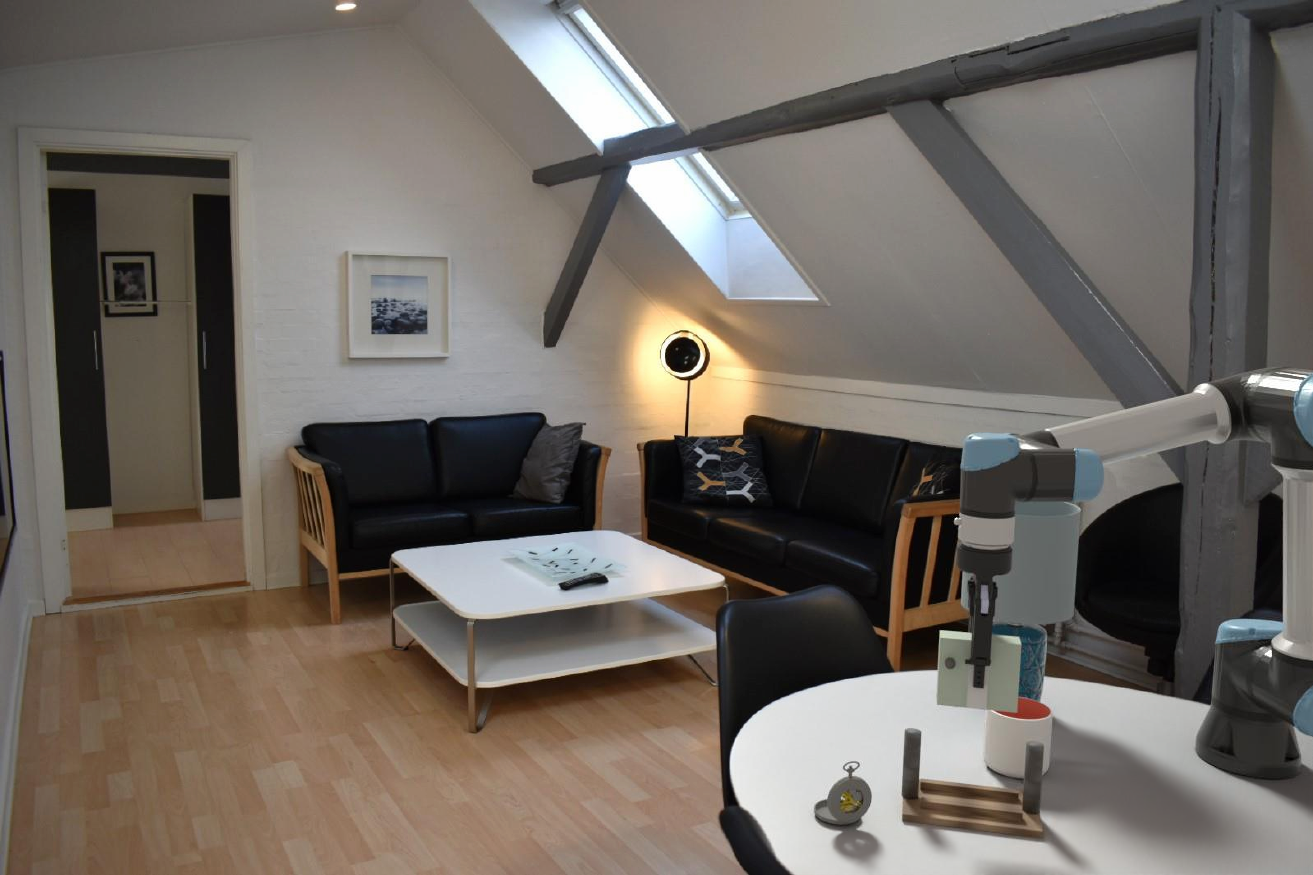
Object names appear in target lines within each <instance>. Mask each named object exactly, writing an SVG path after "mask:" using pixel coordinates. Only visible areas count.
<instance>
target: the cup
mask: <svg viewBox="0 0 1313 875" xmlns="http://www.w3.org/2000/svg"><path fill="white" fill-rule="evenodd" d="M1053 716H1054V713H1053V710H1052V708H1051V707H1049V706H1048V705H1046V704H1045V703H1043V702H1041V701H1040V702H1038V701H1035V700H1032V699H1028V698H1023V697H1018V707H1017V713H1014V712H1004V711H994V710H985V717H984V720H985V721H984V736H983V751H982V752H983V753H982V754H983V755H982V756H983V761H984V763H985V764H986V766H987V767H988V768H990V769H991V770H992V771H994V772H996V773H998V774H1000V775H1002V776H1006V777H1009V778H1015V779H1023V780H1024V771H1025V756H1026V743H1027V742H1028V741H1037V742H1040V743H1042V744H1043V745H1044V754H1043V769H1042V776H1043V775H1044V774H1046V773H1047V771H1048V770H1049V768H1050V760H1051V744H1052V730H1053Z"/></svg>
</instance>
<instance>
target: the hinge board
mask: <svg viewBox="0 0 1313 875" xmlns="http://www.w3.org/2000/svg"><path fill="white" fill-rule="evenodd" d="M903 736H904V738H903V739H904V740H903V756H902V757H903V758H902V776H901V777H902V780H901V782H902V783H901V796H902V807H901V809H902V815H901V816H902V817H901V821H902V822H909V823H910V822H911V823H917V824H918V823H919V824H928V825H934V826H942V827H951V828H958V829H965V830H974V831H975V830H976V831H982V832H991V833H998V834H1006V835H1012V836H1013V835H1015V836H1022V837H1031V838H1037V839H1043V836H1044V834H1043V833H1044V831H1043V826H1042V822H1041V817H1040V811H1041V798H1042V797H1041V796H1042V795H1041V794H1042V783H1043V782H1042V780H1043V775H1042V769H1043V754H1044V745H1043V744H1042V743H1040V742H1037V741H1028V742H1027V743H1026V756H1025V771H1024V779H1023V788H1022V790H1023V791H1022V790H1018V789H1013V788H1007V787H1006V788H1005V787H998V786H989V785H979V784H973V783H972V784H971V783H964V782H963V783H962V782H954V781H946V780H938V779H937V780H935V779H928V778H920V767H921V766H920V765H921V751H922V750H921V746H922V730H920V729H918V728H913V727H910V728H905V729H904V735H903Z"/></svg>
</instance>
